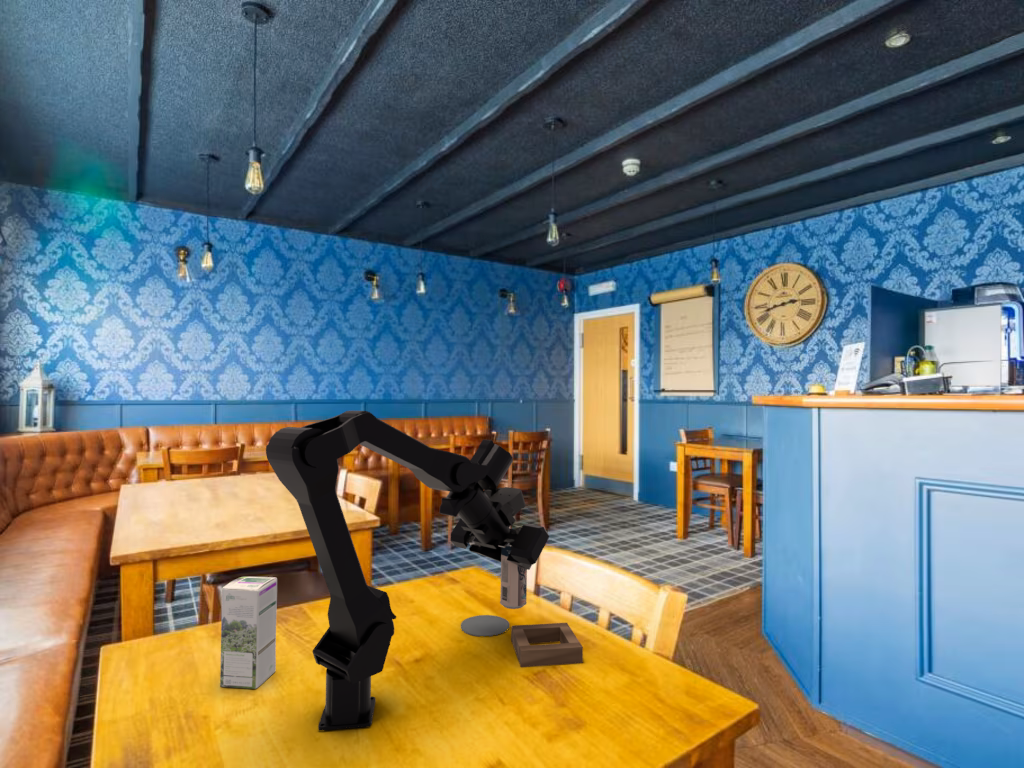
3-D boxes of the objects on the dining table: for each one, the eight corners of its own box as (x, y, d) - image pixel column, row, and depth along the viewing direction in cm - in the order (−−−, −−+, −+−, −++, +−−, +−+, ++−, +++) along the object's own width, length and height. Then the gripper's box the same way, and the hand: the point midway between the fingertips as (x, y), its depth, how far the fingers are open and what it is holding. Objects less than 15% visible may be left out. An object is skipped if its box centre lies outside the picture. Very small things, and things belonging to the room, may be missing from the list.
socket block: (582, 662, 88) (582, 647, 88) (520, 667, 86) (520, 650, 86) (567, 636, 98) (567, 622, 98) (511, 640, 96) (511, 625, 96)
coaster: (512, 635, 98) (512, 632, 98) (462, 638, 97) (462, 635, 97) (505, 616, 107) (505, 614, 107) (459, 618, 106) (459, 616, 106)
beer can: (527, 610, 96) (528, 540, 96) (500, 610, 96) (501, 540, 96) (525, 600, 101) (526, 534, 101) (499, 600, 100) (500, 534, 101)
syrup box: (277, 671, 85) (279, 575, 85) (255, 691, 79) (257, 588, 79) (241, 669, 85) (244, 574, 86) (217, 688, 79) (220, 586, 80)
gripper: (542, 478, 90) (579, 535, 98) (462, 469, 102) (501, 521, 110) (511, 534, 84) (553, 591, 92) (429, 518, 96) (473, 569, 104)
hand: (518, 564), depth 100 cm, fingers closed on beer can, 5 cm apart
